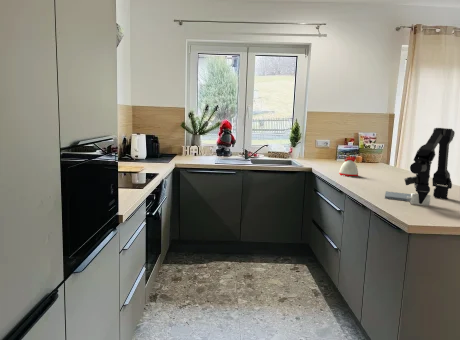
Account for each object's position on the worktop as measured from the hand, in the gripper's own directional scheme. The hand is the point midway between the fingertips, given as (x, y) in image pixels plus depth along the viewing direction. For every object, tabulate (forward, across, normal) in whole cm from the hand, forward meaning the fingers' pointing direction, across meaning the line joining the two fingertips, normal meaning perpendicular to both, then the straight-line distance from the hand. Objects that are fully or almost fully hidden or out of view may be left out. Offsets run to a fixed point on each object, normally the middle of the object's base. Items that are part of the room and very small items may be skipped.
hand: (419, 202), depth 190 cm
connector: (+1, 0, 0) cm, 1 cm away
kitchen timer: (+1, -81, -45) cm, 93 cm away
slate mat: (+1, -12, -9) cm, 15 cm away
